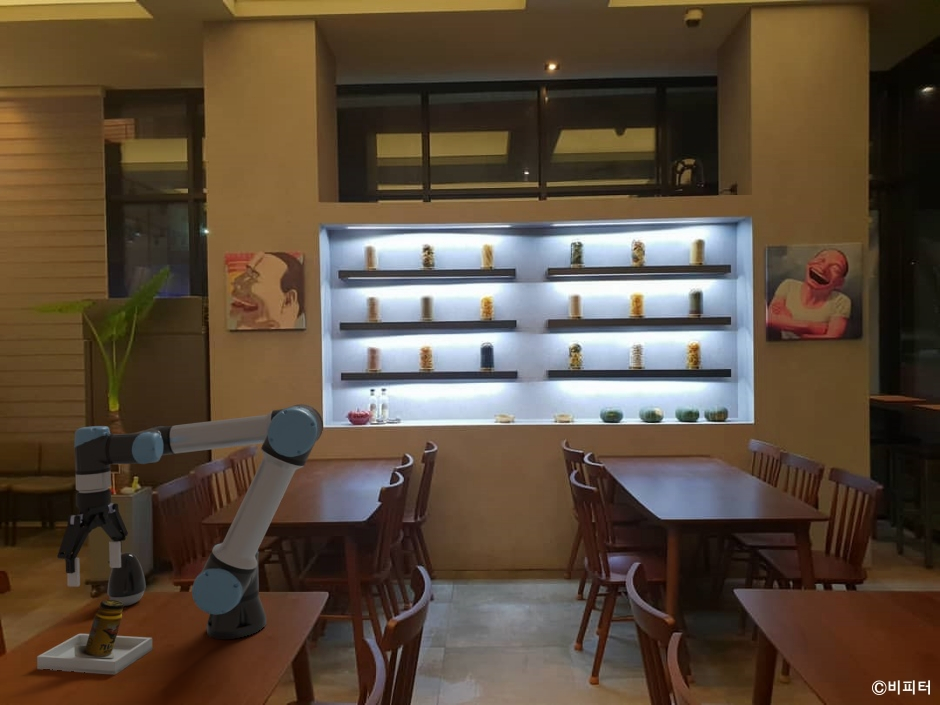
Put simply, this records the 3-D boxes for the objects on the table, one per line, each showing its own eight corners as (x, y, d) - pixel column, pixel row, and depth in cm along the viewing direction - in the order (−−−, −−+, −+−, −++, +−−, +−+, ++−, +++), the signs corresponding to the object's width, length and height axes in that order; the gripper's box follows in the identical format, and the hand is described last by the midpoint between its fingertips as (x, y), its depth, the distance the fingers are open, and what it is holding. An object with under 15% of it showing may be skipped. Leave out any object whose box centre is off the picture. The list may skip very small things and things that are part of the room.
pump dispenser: (100, 605, 194) (99, 555, 194) (133, 594, 203) (132, 546, 203) (119, 612, 189) (118, 560, 189) (152, 600, 198) (151, 550, 198)
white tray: (152, 649, 163) (152, 637, 163) (115, 674, 150) (115, 661, 150) (79, 645, 167) (79, 633, 167) (37, 669, 154) (37, 656, 154)
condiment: (113, 658, 157) (128, 607, 159) (74, 657, 153) (90, 605, 155) (112, 647, 163) (126, 598, 165) (74, 646, 159) (89, 596, 161)
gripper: (116, 480, 172) (118, 560, 172) (37, 500, 147) (39, 594, 147) (141, 480, 171) (143, 560, 170) (66, 500, 146) (68, 595, 146)
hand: (95, 576), depth 159 cm, fingers open, 13 cm apart
